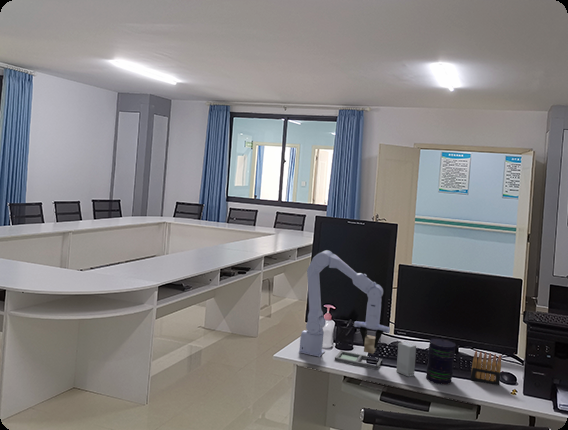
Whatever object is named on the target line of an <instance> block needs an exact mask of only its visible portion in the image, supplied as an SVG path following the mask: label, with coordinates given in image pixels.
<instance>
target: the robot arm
mask: <svg viewBox="0 0 568 430" xmlns="http://www.w3.org/2000/svg"><path fill="white" fill-rule="evenodd" d="M326 267H328V269H329V268H330V269H337V270H338V271H340V272H341V273H343V274H344V275H345V276H347V277H348V278H350V279H351V281H352V284H353V286H355V287H356V288H357V289H359V290H361V292H363V293H364V294H366V296H367V304H366V315H365V321H357V320H356V321H354V324H353V327H355V328H359V333H360V335H361V339H362V345H363V347H364V344H365V337H366V336H367V335H368V330H373V331H376V332H375V345H374V348H376V349H377V347H378V344H379V341H380V338H381V337H382V336H383V334H384V333H387V334H390V333H391V327H390V326H386V325H383V324H380V322H381V321H380V320H381V311H382V297H383V295H384V288H383V286H381V284H378V283H377V282H376V281H373V280H371V279H370V278H369V277H368V275H367V274H366V273H362V272H357V271H355V270H354V269H353V268H352V267H350V266H349V264H347V263H346V262H345V261H344V260H342V259H341V258H340V257H339V256H338V255H337V254H335V253H333V252H332V251H331V250H328V249H326V250H323V251H321V252H318V253H317V254H316V255H314V257H312V260H311V262H310V263H309V265H308V267H307V270H306V273H307V274H306V275H307V276H306V277H307V291H308V310H309V311H308V314H307V322H306V325H305V330H302V331H301V333H300V339H299V350H298V353H300V354H306V355H309V356H314V357H319V358H320V357H321V356H322V355H323V354H324V353H325V352H326V350H325V349H323V344H324V333H325V331H324V329H323V328H325V325H326V321H327V320H326V318H325V316H324V312H323V309H322V301H321V299H322V297H321V283H320V273H321V272H322V271H323V270H324V269H325V268H326Z"/></svg>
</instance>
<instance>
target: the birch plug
mask: <svg viewBox="0 0 568 430" xmlns="http://www.w3.org/2000/svg"><path fill="white" fill-rule="evenodd" d="M375 336H376V335H375ZM375 336H374V335H370V334H369V335H368V334H367V336H366V337H365V344H364V346H363V353H369V354H372V355H374V353H375V352H376V350H377V348H374V345H375Z"/></svg>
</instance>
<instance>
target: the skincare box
mask: <svg viewBox="0 0 568 430" xmlns="http://www.w3.org/2000/svg"><path fill="white" fill-rule="evenodd" d="M416 353H417V345H415V344H413V343H409V342H408V341H402V342H401V341H400V342H398V344H397V357H396V370H395V371H396V373H399V374H401V375H404V376H406V377H413V376H414V375H415V367H416V358H417V357H416V355H417V354H416Z"/></svg>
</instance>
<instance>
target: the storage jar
mask: <svg viewBox="0 0 568 430" xmlns="http://www.w3.org/2000/svg"><path fill="white" fill-rule="evenodd" d="M455 355H456V343H455V342H453V341H451V340H449V339H444V338H430V339H429V346H428V361H427V365H426V370H425V371H426V376H425V379H426V380H427V381H429V382H431V383H433V384H436V385H442V386H445V385H446V386H447V385H451V384H452V379H453V371H454V368H453V366H454V365H453V364H454V360H455Z"/></svg>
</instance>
